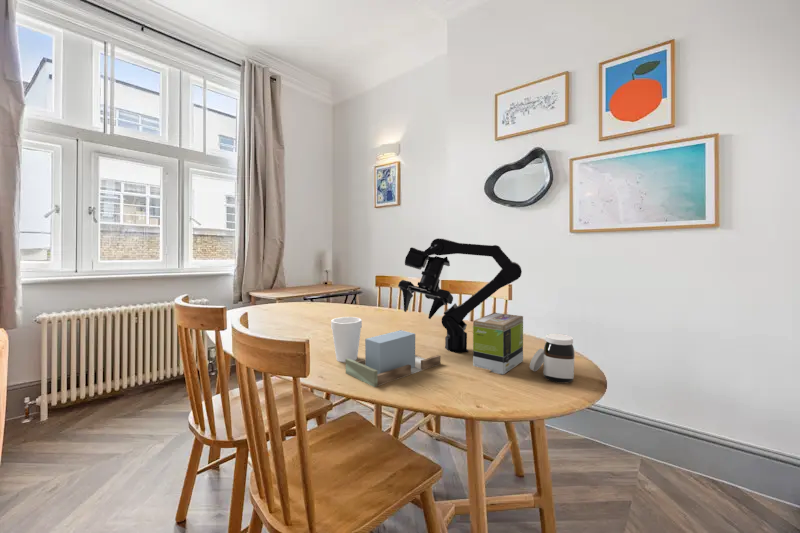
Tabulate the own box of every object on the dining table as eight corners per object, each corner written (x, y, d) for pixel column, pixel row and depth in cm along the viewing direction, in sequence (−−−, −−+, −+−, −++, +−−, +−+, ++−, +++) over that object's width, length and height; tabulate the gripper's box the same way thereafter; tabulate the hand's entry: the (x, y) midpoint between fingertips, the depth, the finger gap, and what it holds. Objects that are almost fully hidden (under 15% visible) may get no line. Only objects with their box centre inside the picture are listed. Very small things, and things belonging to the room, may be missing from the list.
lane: (398, 351, 122) (398, 338, 121) (456, 371, 103) (456, 355, 103) (334, 369, 104) (334, 354, 104) (389, 396, 86) (389, 378, 86)
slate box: (400, 362, 109) (400, 330, 108) (415, 367, 105) (415, 333, 104) (365, 374, 99) (365, 338, 98) (379, 380, 95) (379, 343, 94)
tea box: (493, 355, 118) (494, 311, 117) (523, 362, 111) (525, 315, 110) (471, 367, 106) (472, 319, 105) (503, 376, 100) (504, 324, 99)
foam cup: (325, 363, 110) (325, 321, 109) (341, 354, 118) (340, 316, 117) (352, 367, 106) (352, 324, 105) (366, 358, 115) (366, 318, 114)
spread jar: (575, 387, 92) (577, 343, 91) (529, 381, 96) (530, 338, 95) (570, 371, 103) (572, 332, 103) (529, 366, 107) (530, 328, 106)
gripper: (462, 287, 125) (448, 329, 121) (416, 276, 134) (401, 314, 130) (455, 275, 116) (439, 319, 111) (405, 264, 125) (389, 305, 120)
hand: (416, 315), depth 118 cm, fingers open, 9 cm apart
